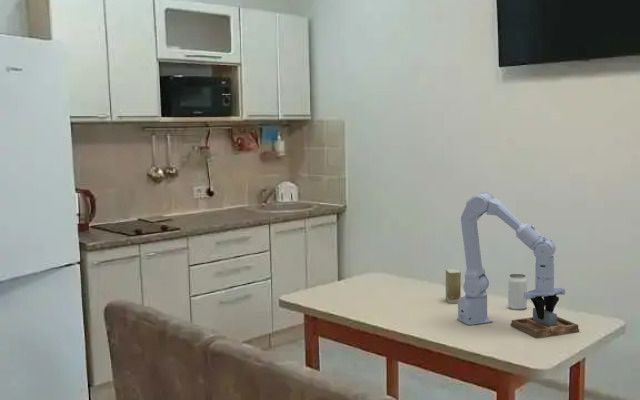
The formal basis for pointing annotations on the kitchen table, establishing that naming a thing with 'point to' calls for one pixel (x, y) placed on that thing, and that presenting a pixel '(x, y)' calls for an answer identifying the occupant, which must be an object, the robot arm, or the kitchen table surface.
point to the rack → (544, 327)
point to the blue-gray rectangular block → (546, 318)
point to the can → (517, 291)
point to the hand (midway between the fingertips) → (544, 318)
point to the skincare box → (453, 285)
